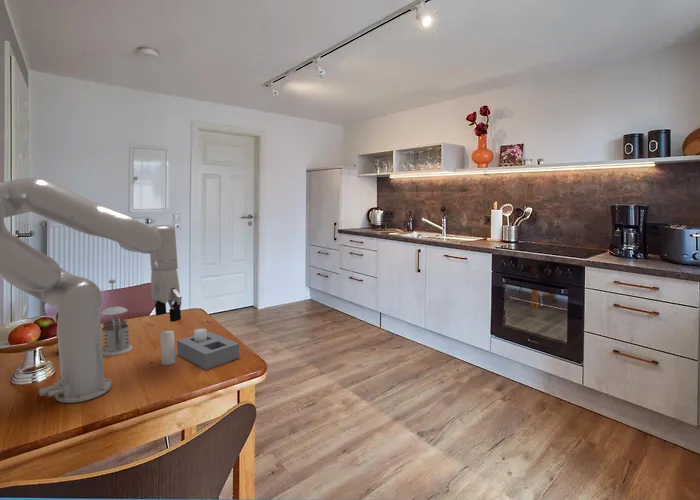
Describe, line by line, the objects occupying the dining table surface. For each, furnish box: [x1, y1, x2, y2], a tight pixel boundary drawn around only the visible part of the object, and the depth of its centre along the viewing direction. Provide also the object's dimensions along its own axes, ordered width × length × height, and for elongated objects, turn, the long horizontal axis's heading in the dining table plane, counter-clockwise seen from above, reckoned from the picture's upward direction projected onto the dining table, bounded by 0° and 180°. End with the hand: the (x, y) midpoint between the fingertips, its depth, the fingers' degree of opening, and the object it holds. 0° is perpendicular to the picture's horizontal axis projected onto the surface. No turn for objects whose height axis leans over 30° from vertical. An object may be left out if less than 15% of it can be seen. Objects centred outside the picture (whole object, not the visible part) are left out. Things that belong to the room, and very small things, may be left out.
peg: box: [159, 330, 176, 366], centre depth 125 cm, size 4×4×10 cm
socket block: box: [176, 328, 240, 371], centre depth 131 cm, size 12×18×8 cm, turn 50°
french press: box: [100, 278, 134, 356], centre depth 134 cm, size 10×12×25 cm
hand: (168, 317), depth 124 cm, fingers open, 9 cm apart
